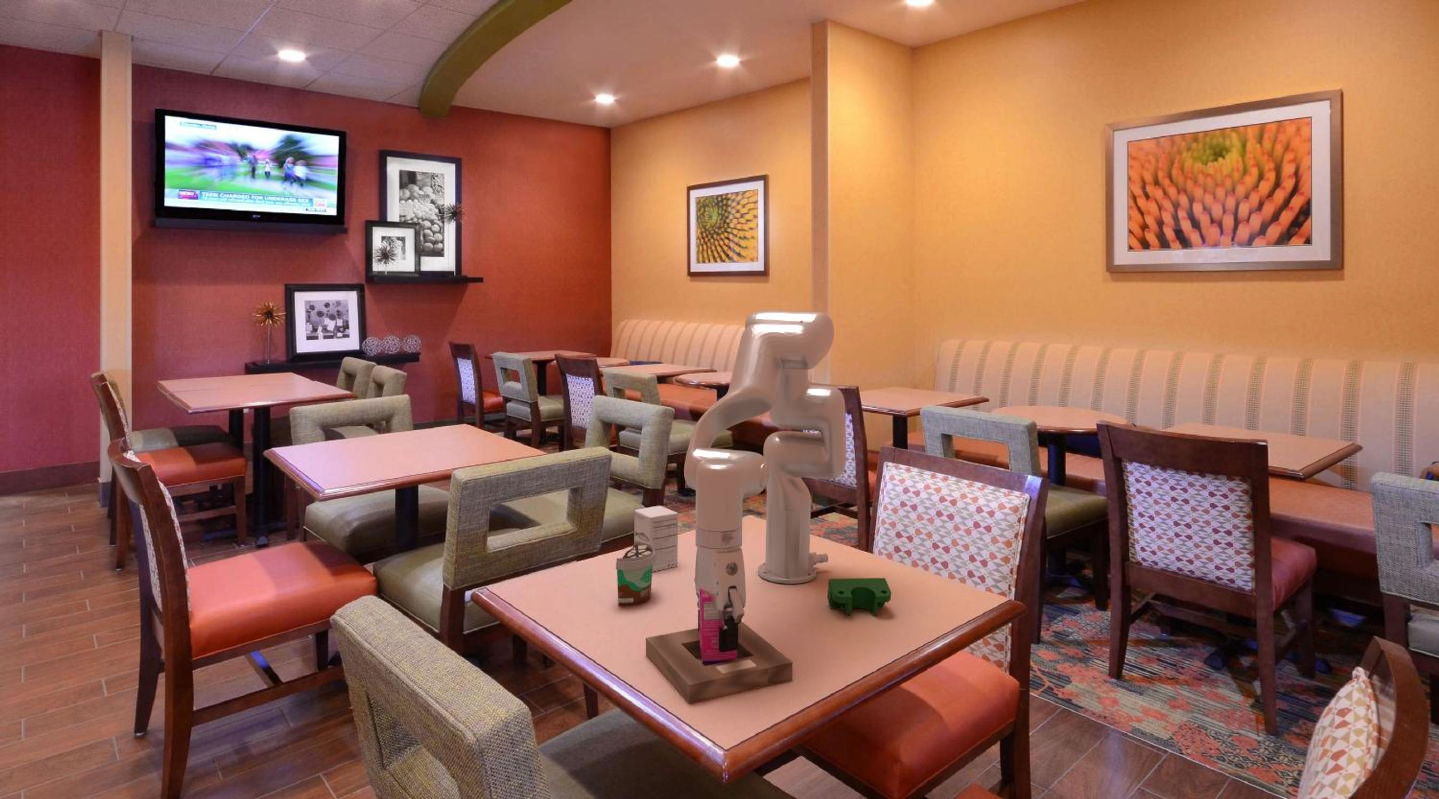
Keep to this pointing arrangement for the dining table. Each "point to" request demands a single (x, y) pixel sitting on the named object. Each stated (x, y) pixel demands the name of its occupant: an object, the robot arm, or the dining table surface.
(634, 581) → the food container
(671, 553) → the supplement box
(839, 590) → the clamp
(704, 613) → the supplement box
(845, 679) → the dining table surface
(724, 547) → the robot arm
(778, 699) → the dining table surface
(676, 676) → the hole board
